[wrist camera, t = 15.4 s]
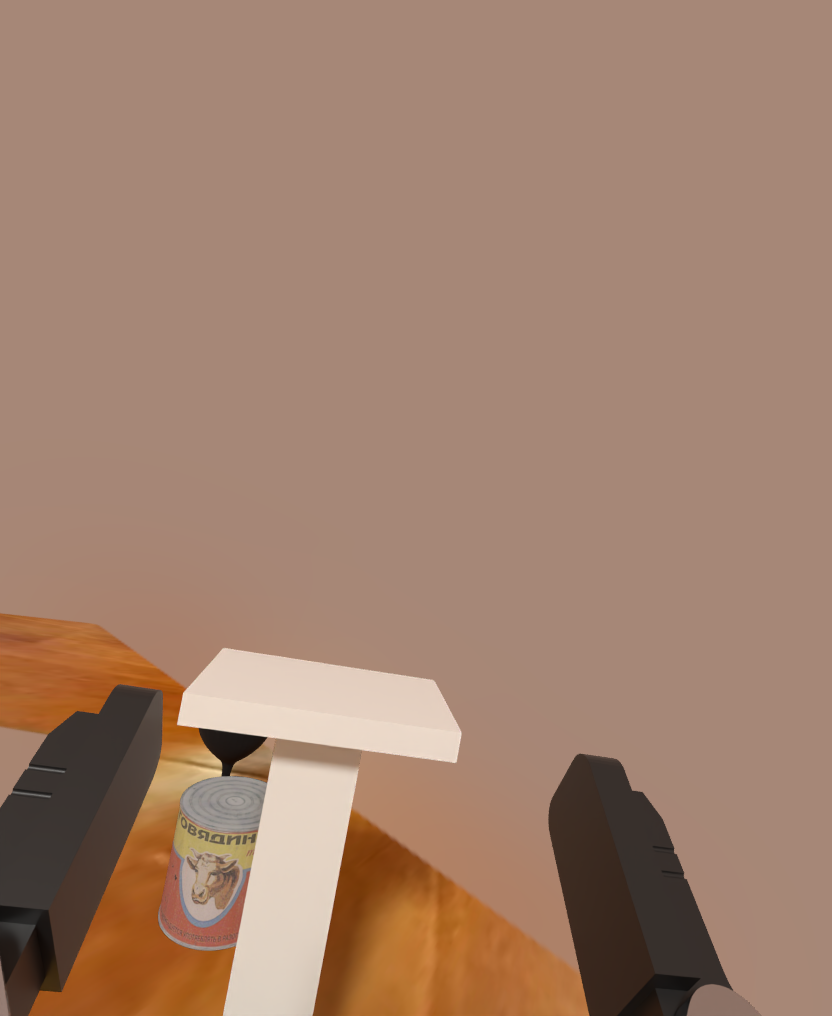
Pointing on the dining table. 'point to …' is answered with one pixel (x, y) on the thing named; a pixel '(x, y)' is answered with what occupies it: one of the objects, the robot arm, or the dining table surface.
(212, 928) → the canned food
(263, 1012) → the white i-beam pedestal
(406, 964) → the dining table surface
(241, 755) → the wine glass
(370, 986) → the dining table surface
